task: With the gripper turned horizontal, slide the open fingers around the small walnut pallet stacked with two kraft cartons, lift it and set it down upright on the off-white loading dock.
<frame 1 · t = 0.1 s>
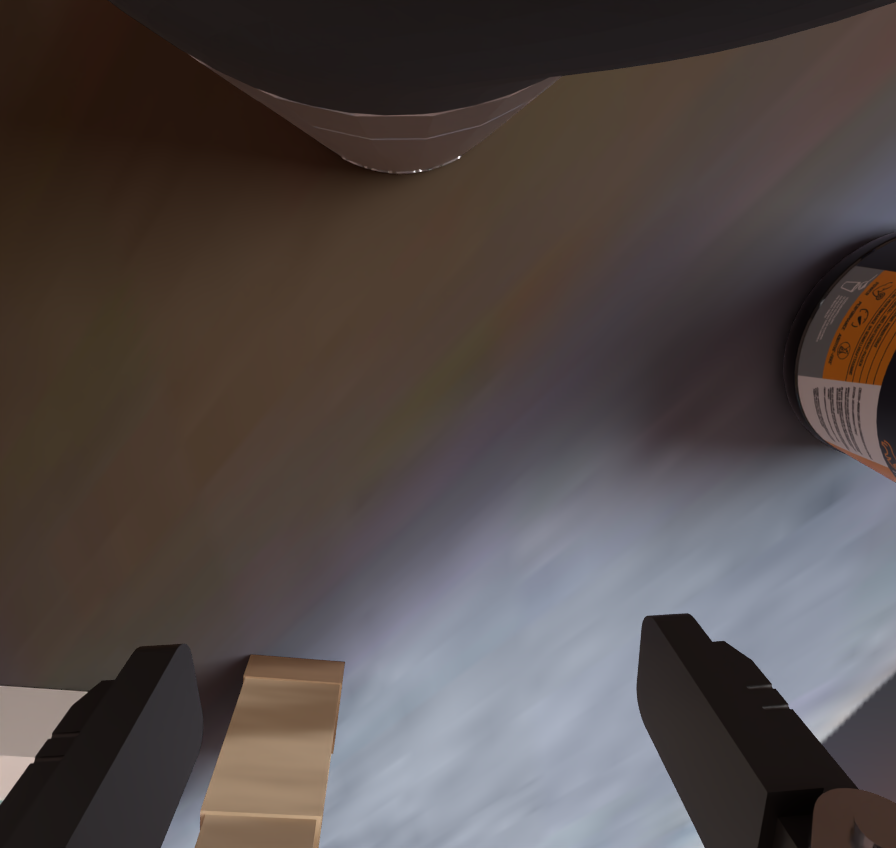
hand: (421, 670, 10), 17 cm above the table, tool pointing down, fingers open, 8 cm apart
loading dock: (10, 805, 34), on the table
loaded pallet: (294, 693, 32), on the table
supplement container: (878, 340, 28), on the table
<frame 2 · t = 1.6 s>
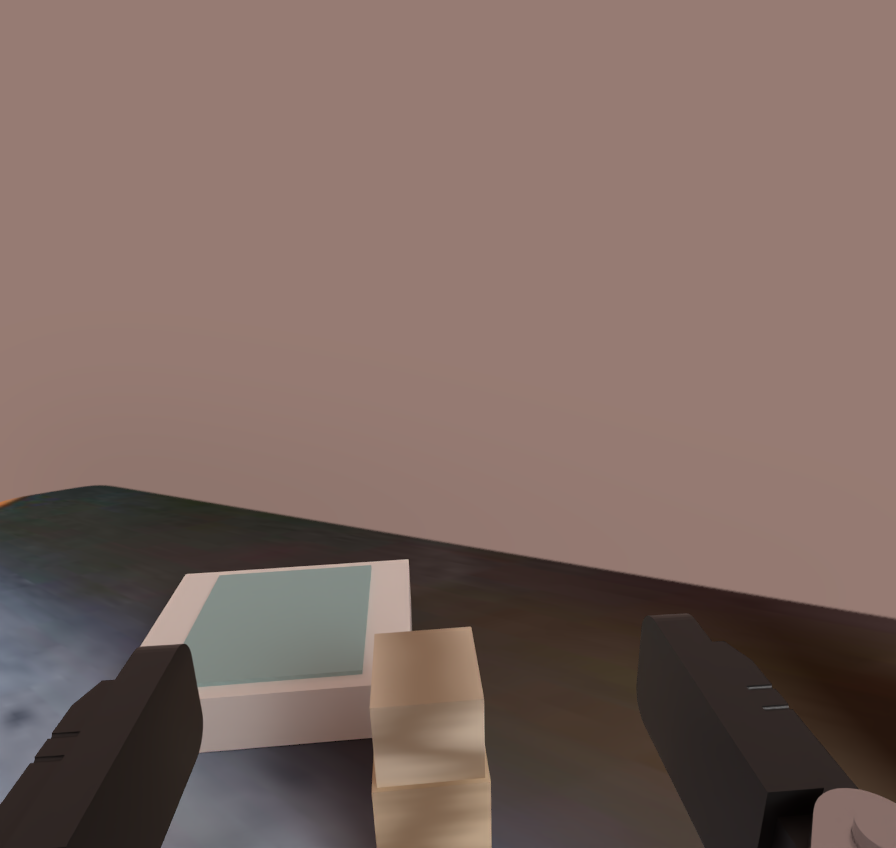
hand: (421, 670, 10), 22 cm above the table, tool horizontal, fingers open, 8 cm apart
loading dock: (288, 666, 43), on the table
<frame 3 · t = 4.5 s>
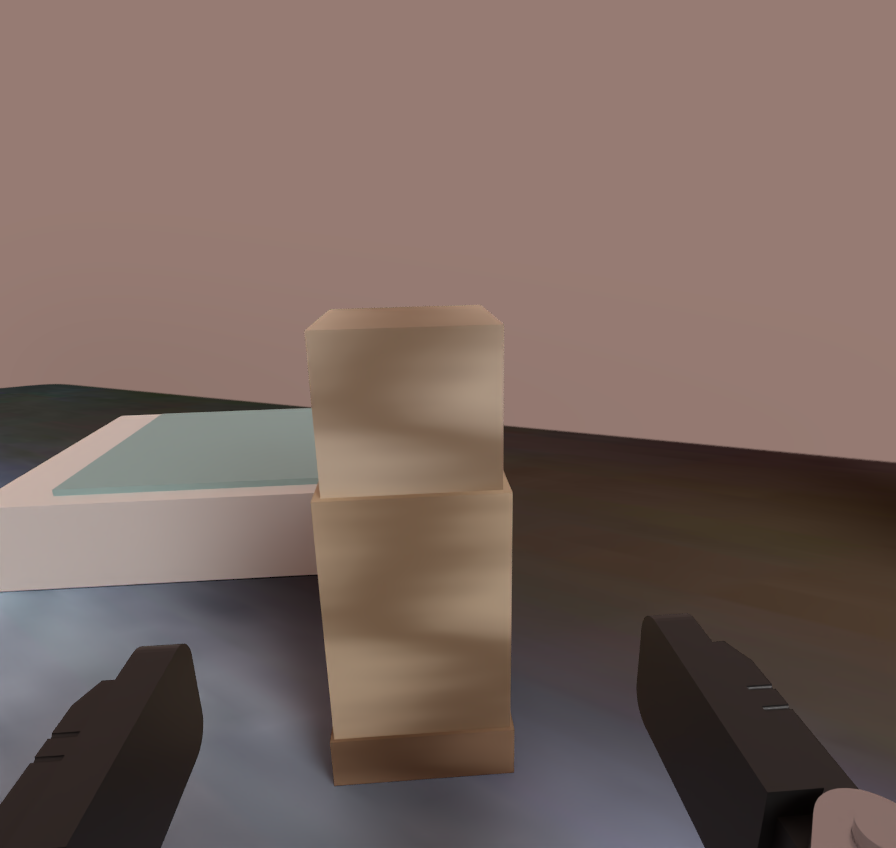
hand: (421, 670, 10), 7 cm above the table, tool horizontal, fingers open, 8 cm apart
loading dock: (241, 512, 33), on the table
loaded pallet: (422, 710, 19), on the table
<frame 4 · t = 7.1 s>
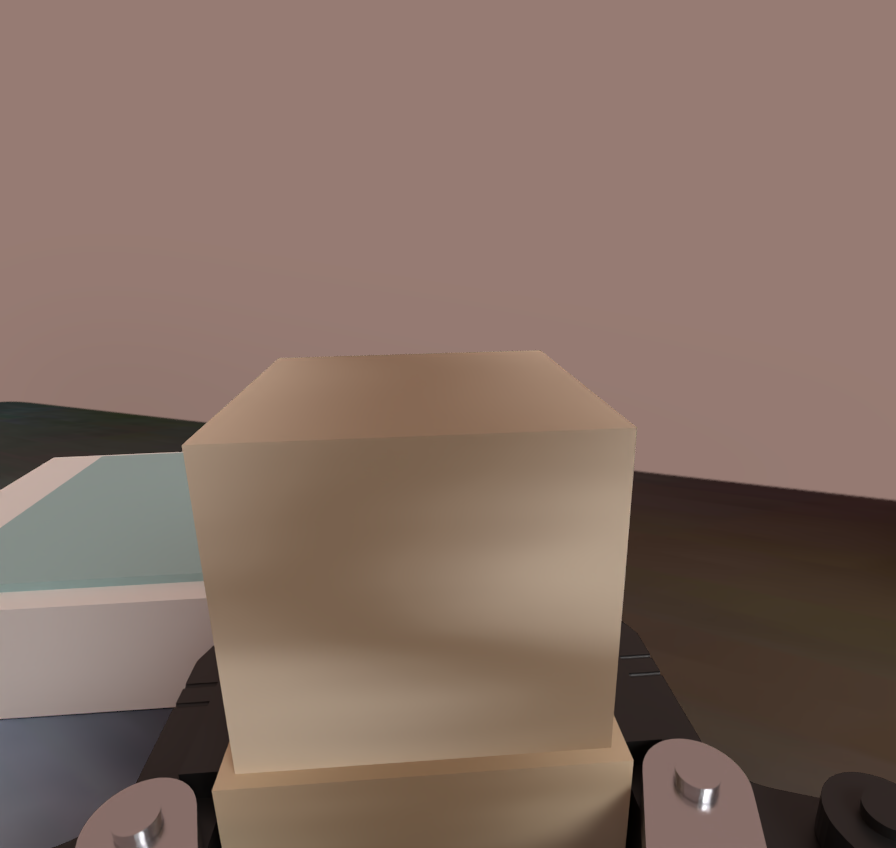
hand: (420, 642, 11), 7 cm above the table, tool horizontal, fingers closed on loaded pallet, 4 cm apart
loading dock: (195, 589, 26), on the table
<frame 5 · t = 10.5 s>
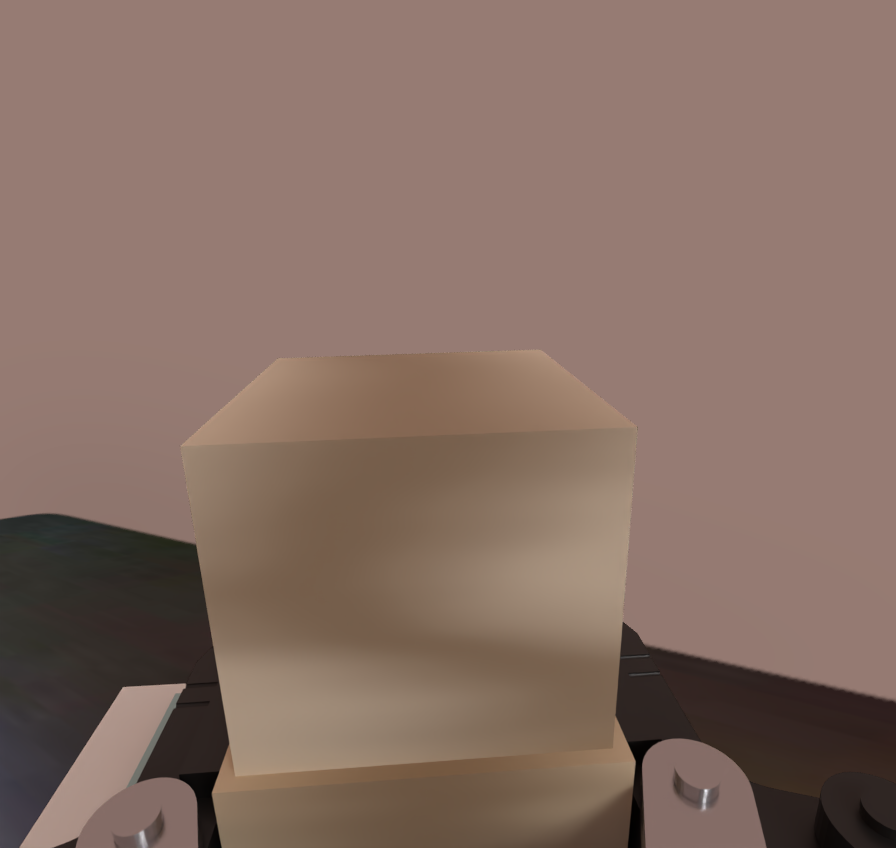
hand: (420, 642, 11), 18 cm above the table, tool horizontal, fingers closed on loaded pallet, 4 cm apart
when the fingers open (12 cm above the table, at t = 13.7 s): loaded pallet stays where it is, resting on loading dock.
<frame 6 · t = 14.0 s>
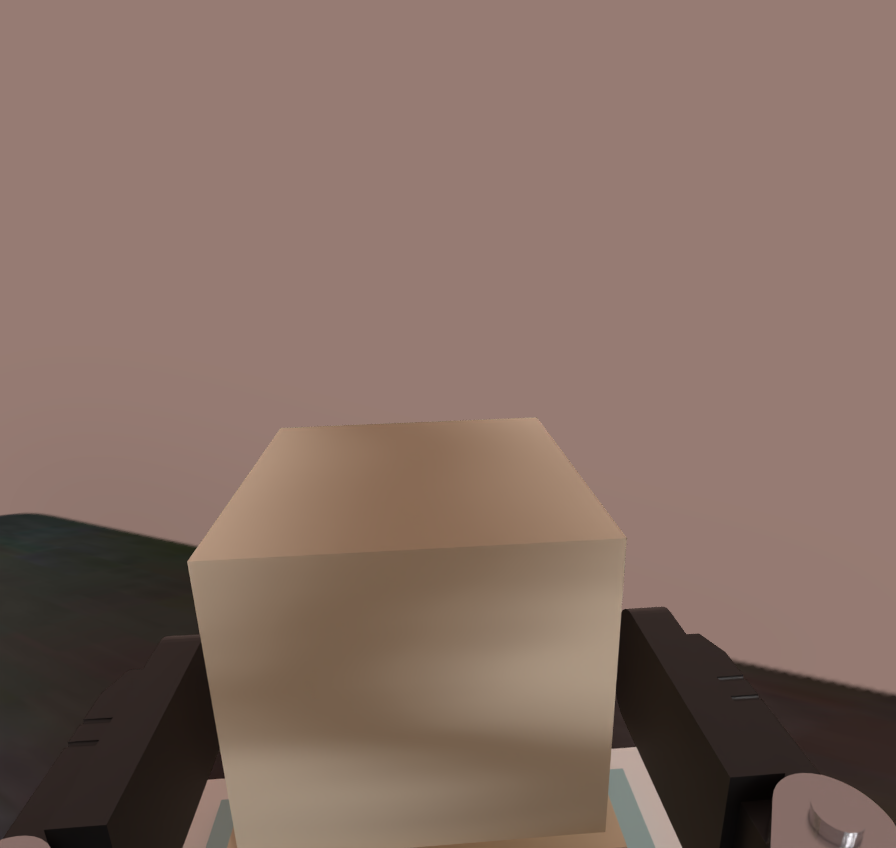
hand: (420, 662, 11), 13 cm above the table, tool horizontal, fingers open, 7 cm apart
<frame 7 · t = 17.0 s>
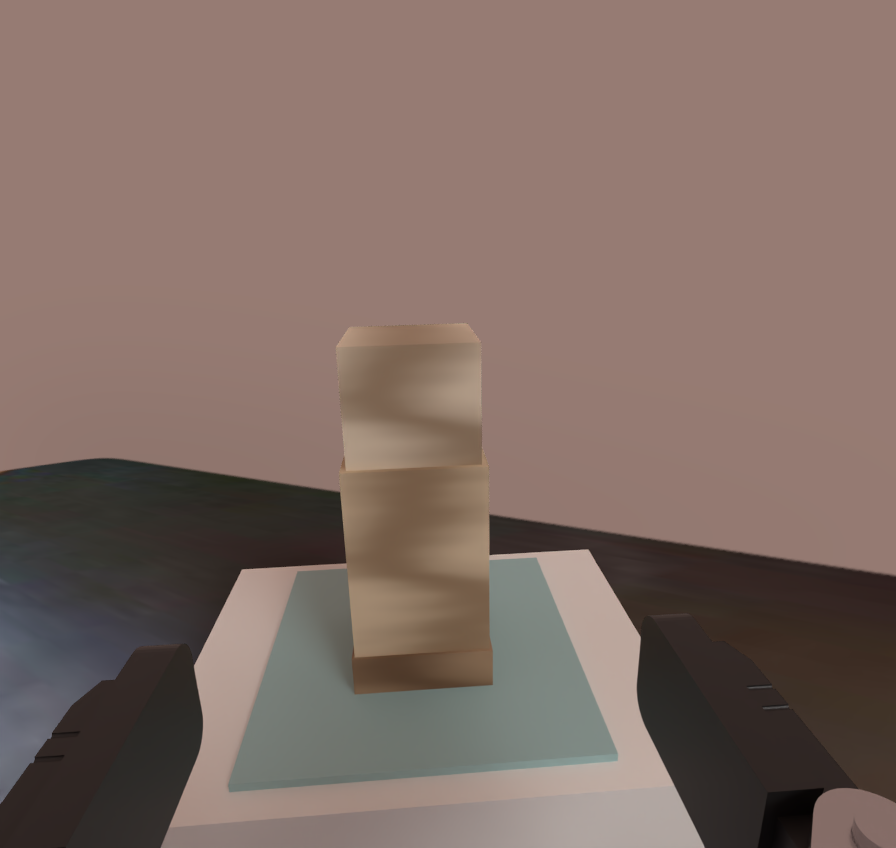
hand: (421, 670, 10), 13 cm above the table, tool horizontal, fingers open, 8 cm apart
loading dock: (425, 726, 25), on the table
loaded pallet: (422, 644, 24), point 4 cm above the table, touching loading dock
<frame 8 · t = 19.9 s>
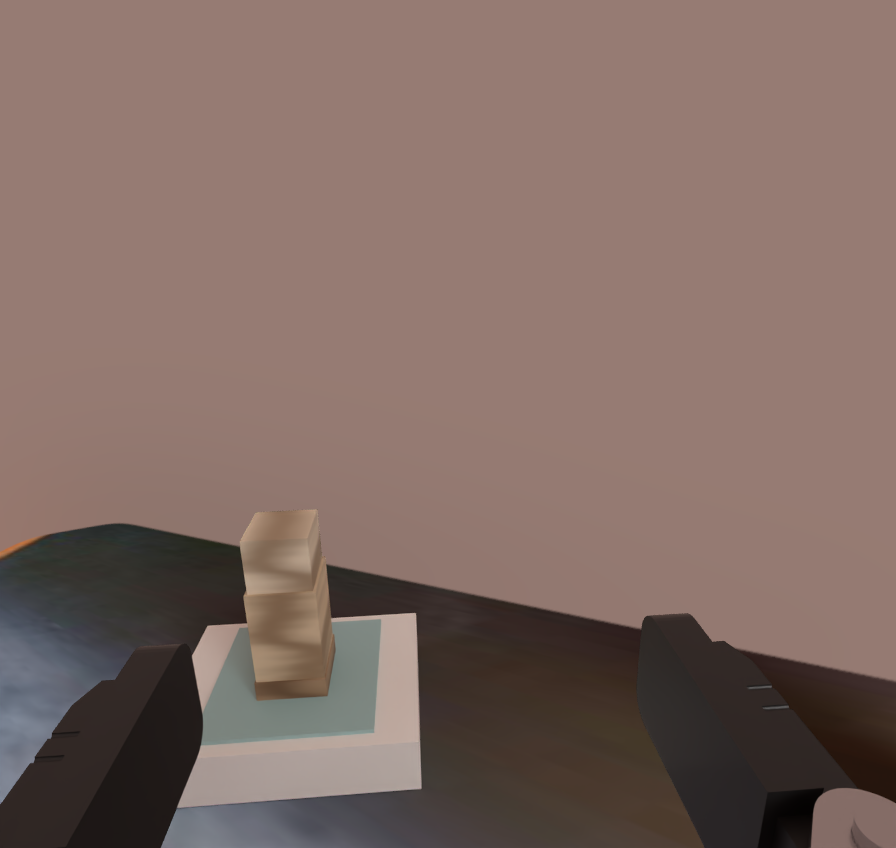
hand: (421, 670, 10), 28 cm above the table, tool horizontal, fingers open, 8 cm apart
loading dock: (303, 718, 46), on the table
loaded pallet: (298, 674, 44), point 4 cm above the table, touching loading dock
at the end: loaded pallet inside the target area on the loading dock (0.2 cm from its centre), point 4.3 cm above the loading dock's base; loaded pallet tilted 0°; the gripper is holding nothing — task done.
